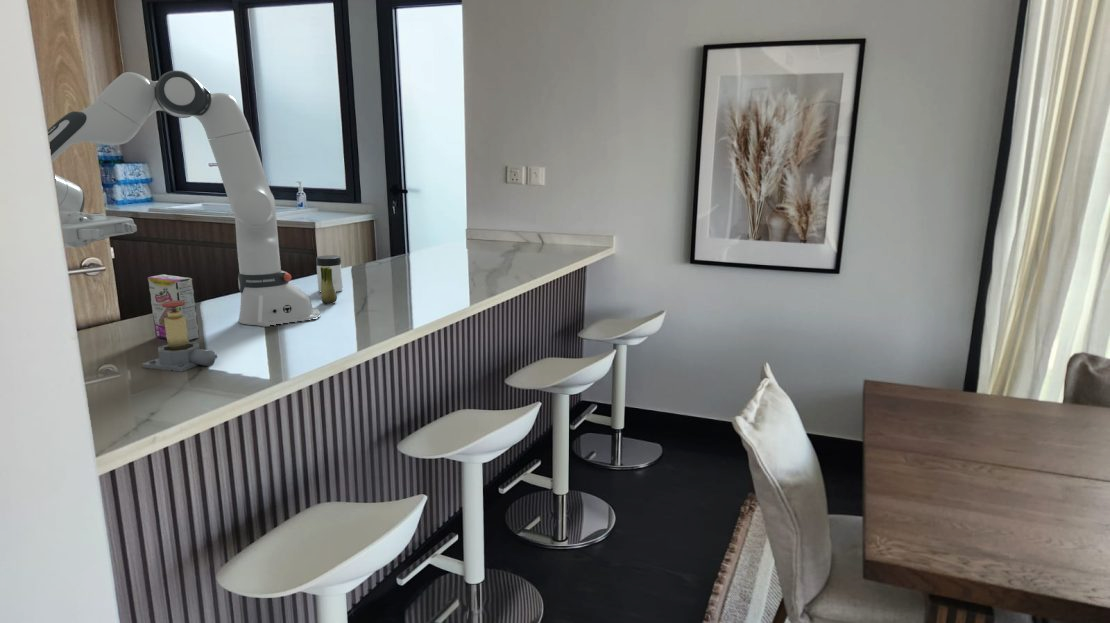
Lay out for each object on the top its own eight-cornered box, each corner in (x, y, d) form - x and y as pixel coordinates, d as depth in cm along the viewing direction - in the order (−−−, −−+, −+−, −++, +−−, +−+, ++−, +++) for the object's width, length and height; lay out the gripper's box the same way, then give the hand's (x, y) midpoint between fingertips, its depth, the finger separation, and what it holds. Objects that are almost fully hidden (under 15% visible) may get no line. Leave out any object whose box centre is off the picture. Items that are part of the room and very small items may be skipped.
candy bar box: (154, 337, 182) (146, 277, 178) (171, 333, 186) (163, 273, 182) (183, 343, 177) (176, 280, 173) (200, 338, 182) (193, 277, 178)
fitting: (142, 367, 158) (140, 351, 157) (179, 353, 168) (177, 338, 167) (192, 372, 154) (190, 356, 153) (227, 358, 164) (225, 343, 163)
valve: (192, 355, 164) (185, 299, 161) (191, 360, 160) (184, 303, 157) (169, 357, 162) (162, 301, 159) (167, 363, 158) (160, 305, 155)
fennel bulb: (321, 301, 224) (318, 265, 222) (336, 300, 226) (334, 264, 223) (321, 305, 219) (319, 268, 216) (337, 304, 221) (335, 267, 218)
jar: (324, 294, 236) (321, 259, 233) (313, 290, 241) (310, 257, 238) (348, 290, 242) (345, 257, 239) (337, 287, 247) (334, 254, 245)
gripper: (28, 221, 157) (76, 222, 154) (105, 212, 176) (149, 213, 173) (33, 248, 159) (81, 250, 155) (110, 236, 178) (153, 238, 174)
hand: (118, 230), depth 164 cm, fingers open, 8 cm apart
